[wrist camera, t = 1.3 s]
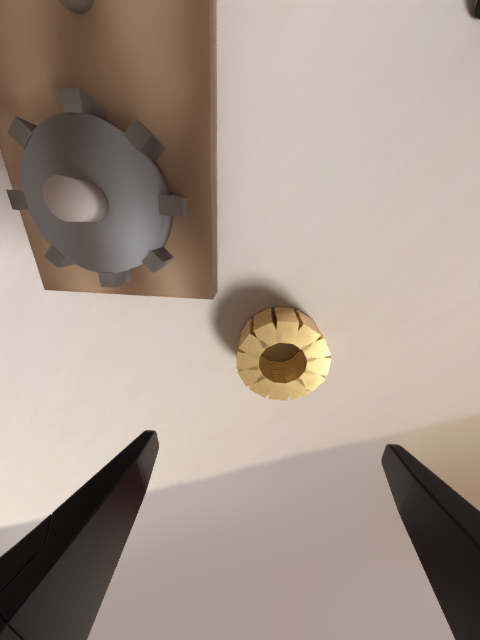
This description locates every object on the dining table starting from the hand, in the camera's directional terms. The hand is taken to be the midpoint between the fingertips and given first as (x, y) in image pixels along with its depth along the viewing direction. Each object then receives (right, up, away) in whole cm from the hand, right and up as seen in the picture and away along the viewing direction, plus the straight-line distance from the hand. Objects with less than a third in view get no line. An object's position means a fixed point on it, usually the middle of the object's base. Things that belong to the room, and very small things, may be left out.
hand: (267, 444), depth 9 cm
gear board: (-9, +17, +6) cm, 20 cm away
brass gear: (+2, +3, +11) cm, 12 cm away
